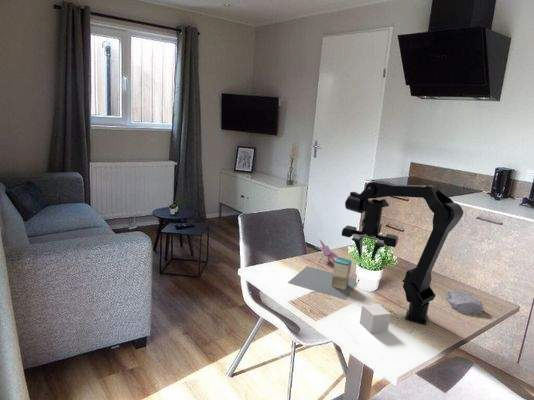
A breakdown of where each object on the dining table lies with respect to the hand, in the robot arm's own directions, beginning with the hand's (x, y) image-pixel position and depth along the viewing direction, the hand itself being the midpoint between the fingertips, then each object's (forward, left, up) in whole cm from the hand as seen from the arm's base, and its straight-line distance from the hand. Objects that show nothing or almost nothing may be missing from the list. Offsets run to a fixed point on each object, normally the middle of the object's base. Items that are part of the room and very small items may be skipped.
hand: (366, 258), depth 139 cm
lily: (+20, +20, -13) cm, 31 cm away
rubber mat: (0, +14, -13) cm, 19 cm away
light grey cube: (-22, -9, -13) cm, 27 cm away
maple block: (0, +8, -13) cm, 15 cm away
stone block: (+12, -33, -14) cm, 38 cm away
